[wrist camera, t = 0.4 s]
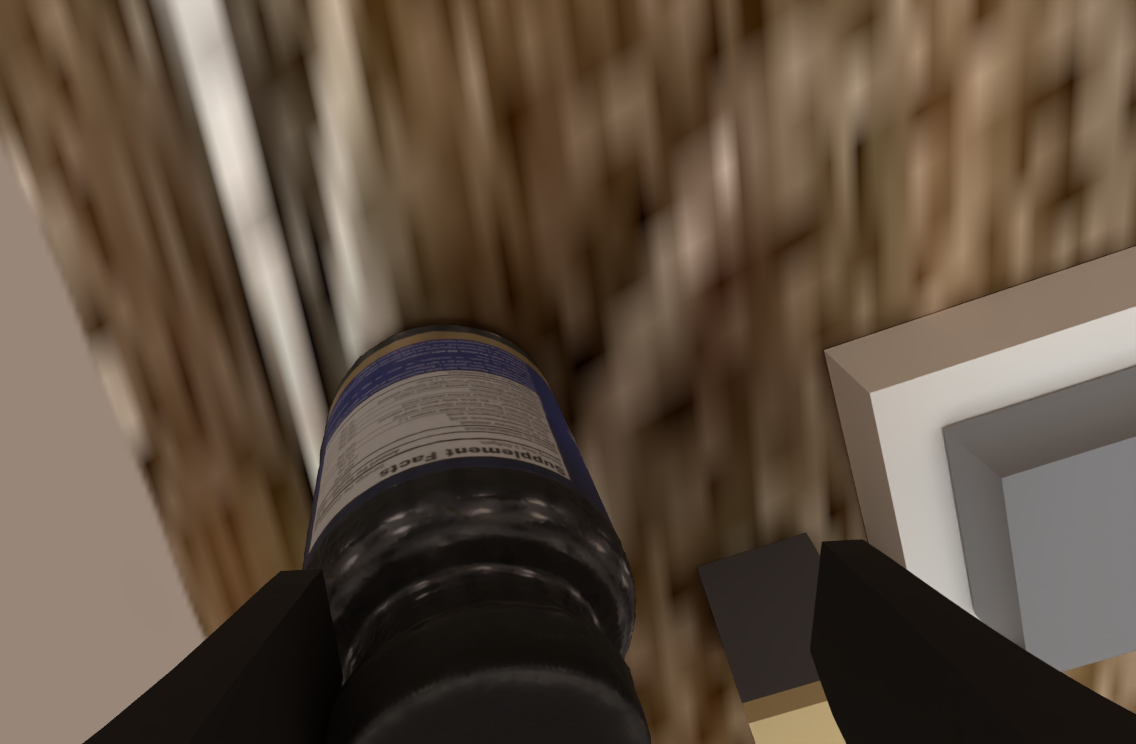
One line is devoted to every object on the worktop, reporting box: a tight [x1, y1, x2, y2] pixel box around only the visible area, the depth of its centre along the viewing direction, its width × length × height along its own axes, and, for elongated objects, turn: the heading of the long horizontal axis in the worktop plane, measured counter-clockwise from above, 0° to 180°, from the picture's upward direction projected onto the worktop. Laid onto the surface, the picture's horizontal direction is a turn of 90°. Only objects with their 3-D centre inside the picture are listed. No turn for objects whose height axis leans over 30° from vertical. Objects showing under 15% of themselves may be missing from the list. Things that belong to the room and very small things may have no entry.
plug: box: [697, 533, 846, 744], centre depth 21 cm, size 4×4×6 cm
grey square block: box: [943, 367, 1136, 672], centre depth 17 cm, size 6×6×2 cm
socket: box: [824, 246, 1136, 621], centre depth 20 cm, size 9×9×3 cm
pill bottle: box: [302, 324, 651, 744], centre depth 15 cm, size 6×6×11 cm
